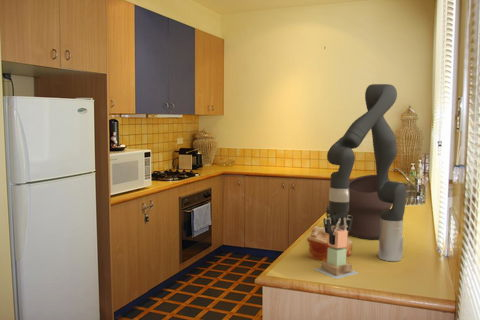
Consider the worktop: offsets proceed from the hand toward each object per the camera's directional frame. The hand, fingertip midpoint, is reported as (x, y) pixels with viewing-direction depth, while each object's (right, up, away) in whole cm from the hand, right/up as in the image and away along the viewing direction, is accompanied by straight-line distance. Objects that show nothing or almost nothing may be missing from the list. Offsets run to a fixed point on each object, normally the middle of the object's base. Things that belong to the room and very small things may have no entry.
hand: (337, 243), depth 176 cm
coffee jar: (+8, -8, +41) cm, 43 cm away
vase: (+27, -7, +60) cm, 66 cm away
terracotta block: (0, -1, 0) cm, 1 cm away
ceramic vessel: (+1, -10, +21) cm, 23 cm away
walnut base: (0, -11, +1) cm, 11 cm away
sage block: (0, -8, +1) cm, 8 cm away
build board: (0, -12, +1) cm, 12 cm away
